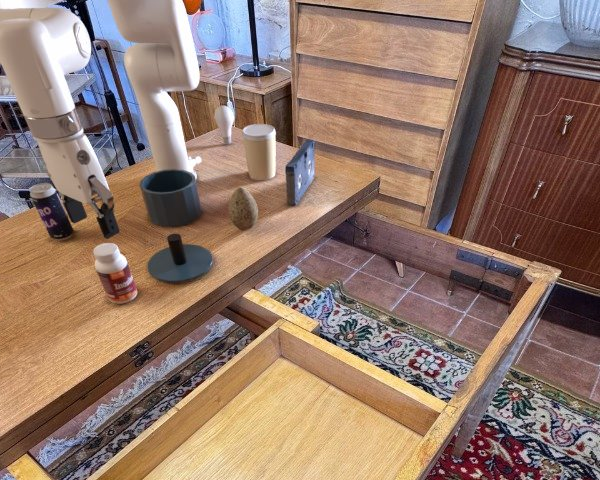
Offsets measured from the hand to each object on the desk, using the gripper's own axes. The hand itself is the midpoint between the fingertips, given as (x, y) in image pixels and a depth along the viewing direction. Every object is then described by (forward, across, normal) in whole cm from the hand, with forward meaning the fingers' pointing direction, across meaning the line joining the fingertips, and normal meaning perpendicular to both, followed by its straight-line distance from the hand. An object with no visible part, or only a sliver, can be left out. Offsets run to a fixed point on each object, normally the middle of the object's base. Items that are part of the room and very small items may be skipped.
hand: (95, 227), depth 82 cm
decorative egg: (+16, -3, -36) cm, 40 cm away
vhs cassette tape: (+15, -2, -61) cm, 63 cm away
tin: (+15, +17, -31) cm, 39 cm away
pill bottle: (+16, 0, 0) cm, 16 cm away
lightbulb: (+15, +37, -73) cm, 84 cm away
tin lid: (+15, -2, -15) cm, 21 cm away
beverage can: (+16, +32, -7) cm, 36 cm away
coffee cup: (+15, +13, -62) cm, 65 cm away
